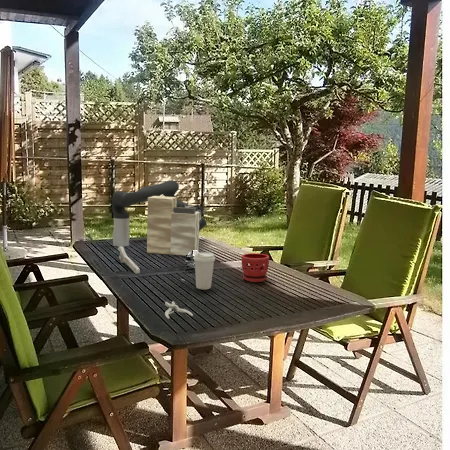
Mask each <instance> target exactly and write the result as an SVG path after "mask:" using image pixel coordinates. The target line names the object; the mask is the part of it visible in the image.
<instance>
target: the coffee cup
mask: <svg viewBox="0 0 450 450" xmlns="http://www.w3.org/2000/svg"><path fill="white" fill-rule="evenodd" d="M193 260H194V270H195V271H194V272H195V287H196V289H199V290H209V289H211V288H212V282H213V281H212V280H213V272H214V265H215V261H216V257H215V255H214V253H212V252H198V253H196V255H195V256H193Z"/></svg>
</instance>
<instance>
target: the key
mask: <svg viewBox="0 0 450 450" xmlns="http://www.w3.org/2000/svg"><path fill="white" fill-rule="evenodd" d="M188 205H189V206H187V207H185V208H182V207H174V213H184V214H195V212H196V208H194V207H195V206H194V205H193V204H192V205H191V204H188Z"/></svg>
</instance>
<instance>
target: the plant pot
mask: <svg viewBox="0 0 450 450" xmlns="http://www.w3.org/2000/svg"><path fill="white" fill-rule="evenodd" d="M269 265H270V256H269V255H268V254H264V253H256V252H255V253H254V252H253V253H250V252H249V253H244V254H242V255H241V269H242V272H243V275H242V278H243V279H244V280H245V281H246V282H250V283H262V281H263V282H264V281H266V280H268V279H267V278H268V275H267V273H268V270H269Z"/></svg>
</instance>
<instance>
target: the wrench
mask: <svg viewBox="0 0 450 450" xmlns="http://www.w3.org/2000/svg"><path fill="white" fill-rule="evenodd" d="M117 247H118V246H117ZM117 251H119V255H118V258H119V261H120V263H121V264H124V263H125V264H126V265H127V266H128V267H129V269H131V271H133V273H134V274H136V275H137V274H138V275H139V274H141V273H140V272H141V269H140V267H139V266H138V265H137V264H136V263H134V261H133V260H132V259H131V258H130V257H128V255H127V253H126V251H125V247H118V248H117Z"/></svg>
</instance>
